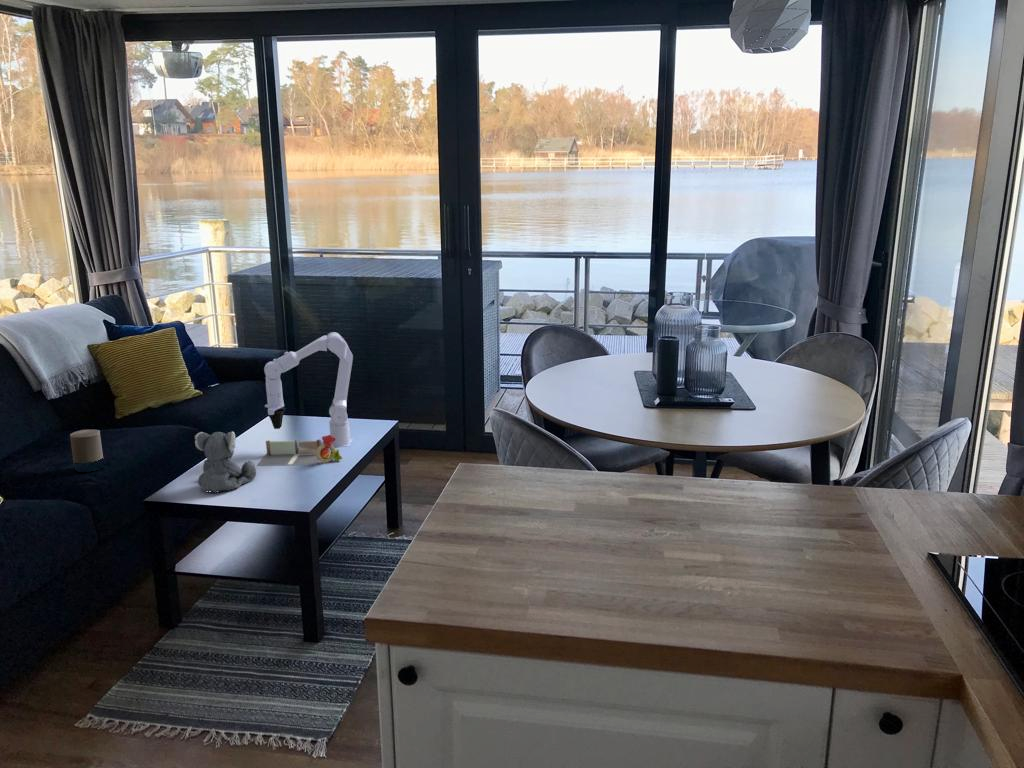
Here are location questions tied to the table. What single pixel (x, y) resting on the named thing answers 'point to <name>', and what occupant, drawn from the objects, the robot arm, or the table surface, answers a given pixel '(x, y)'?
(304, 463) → the board
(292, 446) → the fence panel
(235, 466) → the koala plush
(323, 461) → the bird rattle
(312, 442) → the fence fixed section
